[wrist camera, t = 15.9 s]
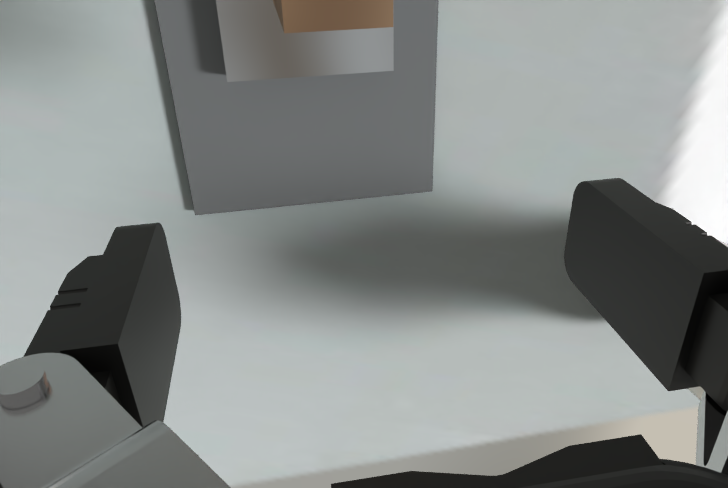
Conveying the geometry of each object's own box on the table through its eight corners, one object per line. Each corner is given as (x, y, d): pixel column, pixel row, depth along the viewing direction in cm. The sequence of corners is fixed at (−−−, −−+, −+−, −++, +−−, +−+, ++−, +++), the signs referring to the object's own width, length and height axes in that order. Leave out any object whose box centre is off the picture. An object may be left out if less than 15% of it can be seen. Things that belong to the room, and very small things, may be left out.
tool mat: (437, -72, 21) (440, -72, 20) (429, 187, 26) (432, 191, 25) (144, -62, 19) (142, -62, 19) (195, 211, 24) (195, 215, 24)
